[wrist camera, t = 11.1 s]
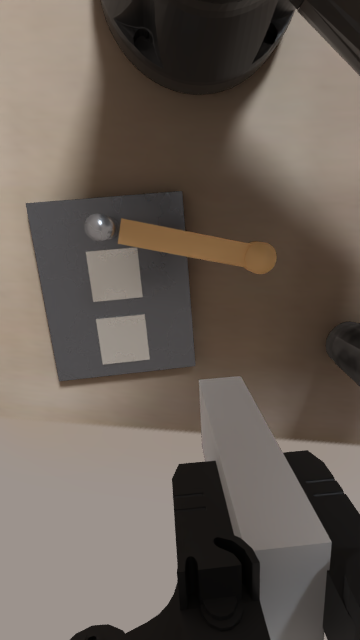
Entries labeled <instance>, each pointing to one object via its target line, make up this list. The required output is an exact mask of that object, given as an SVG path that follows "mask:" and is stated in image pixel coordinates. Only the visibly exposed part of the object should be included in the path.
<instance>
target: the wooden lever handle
mask: <svg viewBox="0 0 360 640" xmlns="http://www.w3.org/2000/svg"><path fill="white" fill-rule="evenodd" d="M118 244H122V245H127V246H133V247H138V248H143V249H149V250H154V251H159V252H165V253H170V254H175V255H181V256H186V257H192V258H197V259H202V260H208V261H213V262H218V263H224V264H229V265H234V266H240V267H244V268H245V269H246V270H248V271H251V272H253V273H255V274H265V273H267V272H269V271H270V270H271V269H272V268H273V267H274V266H275V263H276V260H277V254H276V251H275V249H274V248H273V246H272V245H270V244H268V243H266V242H257V241H253V242H249V243H244V242H239V241H234V240H229V239H224V238H219V237H214V236H209V235H203V234H198V233H193V232H188V231H183V230H178V229H173V228H168V227H163V226H158V225H153V224H148V223H143V222H137V221H132V220H127V219H122V218H121V224H120V231H119V238H118Z"/></svg>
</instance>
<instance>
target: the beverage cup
mask: <svg viewBox="0 0 360 640" xmlns="http://www.w3.org/2000/svg"><path fill="white" fill-rule="evenodd" d="M326 350H327V353H328V355H329V357H330V358H331V359H333V361H334V362H335V363H336V364H337V365H338V366H339V367H340V368H341V369H342V370H343V371H344V372H345V373H346V374H347V375H348V376H349V377H350V378H352V379H353V380H354V381H355V382H356V383H357V384H358V385H359V386H360V324H359V323H355V322H345V323H341V324H340V325H338V326H336V327H335V328H334V329H333V330H332V331H331V332H330V334H329V336H328V338H327V341H326Z"/></svg>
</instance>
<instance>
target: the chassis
mask: <svg viewBox="0 0 360 640" xmlns="http://www.w3.org/2000/svg"><path fill="white" fill-rule="evenodd" d="M26 208H27V213H28V218H29V224H30V229H31V234H32V240H33V245H34V250H35V255H36V261H37V266H38V271H39V277H40V282H41V287H42V292H43V298H44V303H45V308H46V314H47V319H48V324H49V329H50V335H51V340H52V345H53V351H54V356H55V361H56V366H57V372H58V377H59V381H66V380H75V379H84V378H92V377H101V376H110V375H119V374H128V373H137V372H146V371H155V370H164V369H173V368H182V367H191V366H195V353H194V340H193V327H192V314H191V301H190V288H189V274H188V261H187V257H186V256H181V255H175V254H170V253H165V252H159V251H154V250H149V249H143V248H138V247H133V246H127V245H122V244H118V238H119V231H120V224H121V218H122V219H127V220H132V221H137V222H143V223H148V224H153V225H158V226H163V227H168V228H173V229H178V230H183V231H185V222H184V209H183V196H182V191H176V192H164V193H151V194H138V195H126V196H113V197H101V198H88V199H75V200H62V201H50V202H37V203H26Z"/></svg>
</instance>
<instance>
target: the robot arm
mask: <svg viewBox="0 0 360 640" xmlns="http://www.w3.org/2000/svg"><path fill="white" fill-rule="evenodd" d="M101 4H102V8H103V12H104V15H105V18H106V21H107V23H108V26H109V28H110V30H111V32H112V34H113V36H114V38H115V40H116V42H117V43H118V45H119V47H120V48H121V50H122V51H123V52H124V54H125V55H126V56H127V58H128V59H129V60H130V61H131V62H132V63H133V64H134V65H135V66H136V67H137V68H138V69H139V70H140V71H141V72H142V73H143V74H144V75H146V76H147V77H149V78H150V79H151V80H153V81H155V82H156V83H158V84H160V85H162V86H164V87H166V88H169V89H171V90H174V91H178V92H182V93H187V94H211V93H216V92H220V91H224V90H226V89H229V88H231V87H233V86H236V85H237V84H239V83H241V82H243V81H244V80H246V79H247V78H248V77H250V76H251V75H252V74H253V73H255V72H256V71H257V70H258V69H259V68H260V67H261V66H262V64H263V63H264V62H265V61H266V60H267V58H268V57H269V56H270V54H271V53H272V51H273V50H274V49H275V47H276V46H277V44H278V43H279V41H280V40H281V38H282V37H283V35H284V33H285V31H286V30H287V28H288V26H289V24H290V21H291V19H292V16H293V14H294V11H295V9H297V10H298V12H299V13H300V14H301V15H302V16H303V17H304V18H305V19H306V20H307V22H308V23H309V24H310V25H311V26H312V27H313V28H314V29H315V30H316V31H317V32H318V33H319V34H320V35H321V36H322V37H323V38H324V39H325V40H326V41H327V42H328V43H329V44H330V45H331V46H332V47H333V49H334V50H335V51H336V52H337V53H338V54H339V55H340V56H341V57H342V58H343V59H344V60H345V61H346V62H347V63H348V64H349V65H350V66H351V67H352V68H353V69H354V70H355V71H356V72H357V73H358V74H359V76H360V0H101ZM298 8H299V9H298ZM199 394H200V414H201V435H202V448H203V453H204V458H205V462H196V463H186V464H179V466H178V467H177V469H176V472H175V474H174V476H173V478H172V484H173V500H174V515H175V531H176V546H177V562H178V569H177V577H178V583H177V586H176V589H175V592H174V595H173V597H172V598H171V600H170V602H169V604H168V605H167V606H166V607H165V608H164V609H163V610H162V612H161V613H160V614H159V615H158V616H156V617H154V618H153V619H151V620H150V621H148V622H147V623H145V624H143V625H141V626H139V627H137V628H135V629H133V630H131V631H130V632H127V633H126V634H125V633H124V632H123V630H120V629H118V628H116V627H113V626H111V625H95V626H91V627H89V628H87V629H85V630H83V631H81V632H79V633H77V634H75V635H74V636H73V637H72V638H71V639H70V640H324V632H325V634H326V637H327V639H328V640H360V514H359V513H358V511H357V510H356V508H355V507H354V505H353V504H352V503H351V501H350V500H349V498H348V497H347V495H346V494H344V493H343V490H342V488H341V487H340V485H339V484H338V482H337V481H335V479H334V477H333V475H332V474H331V472H330V471H329V469H328V468H327V467H326V465H325V464H324V462H322V461H321V460H320V459H318V458H317V457H316V456H314V455H313V454H312V453H310V452H309V451H296V452H286V453H283V452H282V450H281V449H280V447H279V445H278V443H277V441H276V439H275V438H274V436H273V434H272V432H271V430H270V428H269V427H268V425H267V423H266V421H265V419H264V417H263V416H262V414H261V412H260V410H259V408H258V407H257V405H256V403H255V401H254V399H253V397H252V396H251V394H250V392H249V390H248V388H247V386H246V385H245V383H244V381H243V379H242V377H241V376H235V377H224V378H212V379H200V380H199Z"/></svg>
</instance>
